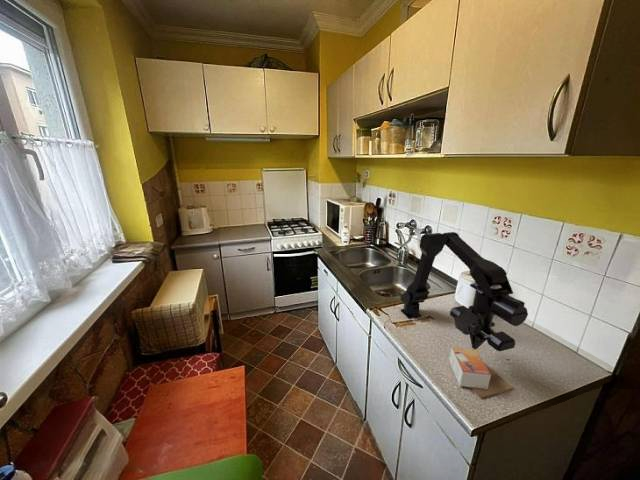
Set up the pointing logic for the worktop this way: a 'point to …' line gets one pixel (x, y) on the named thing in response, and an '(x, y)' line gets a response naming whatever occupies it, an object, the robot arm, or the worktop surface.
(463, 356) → the small box
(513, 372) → the worktop surface
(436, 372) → the worktop surface
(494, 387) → the brown coaster
